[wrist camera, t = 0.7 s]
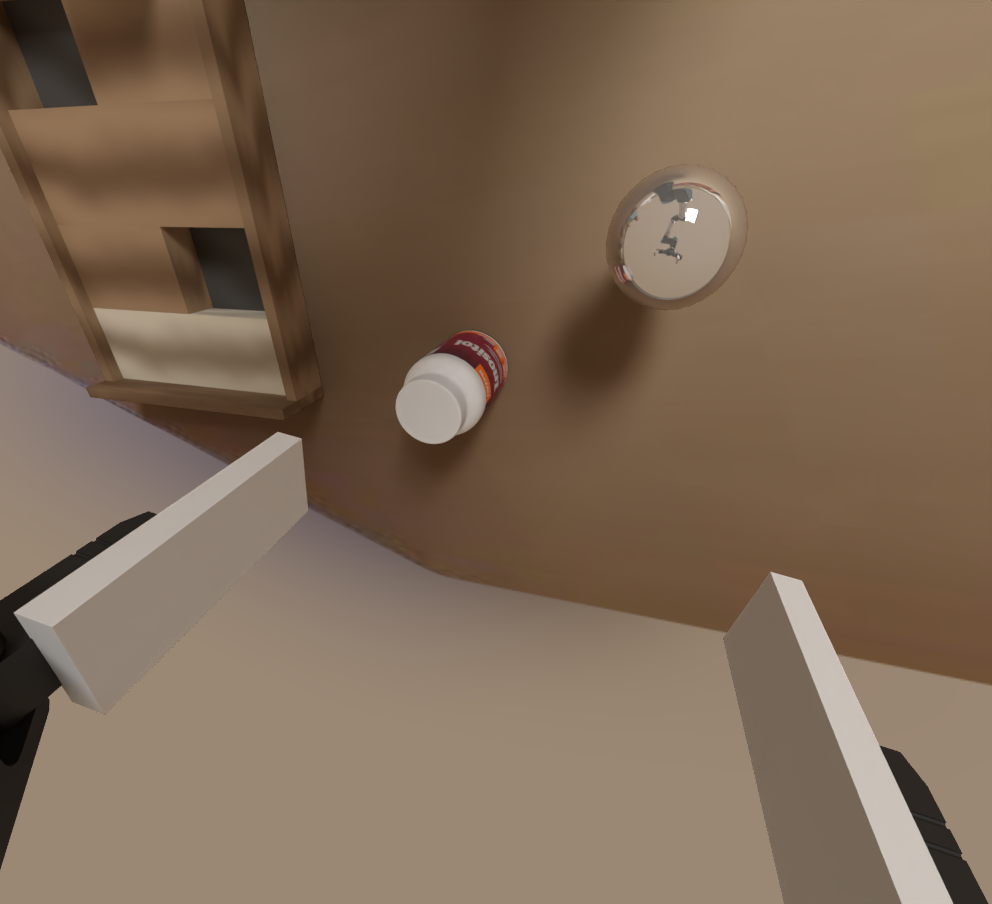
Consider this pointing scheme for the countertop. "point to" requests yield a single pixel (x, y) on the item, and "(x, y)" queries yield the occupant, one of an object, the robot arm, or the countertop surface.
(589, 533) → the countertop surface
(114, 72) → the board
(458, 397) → the pill bottle
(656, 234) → the light bulb
